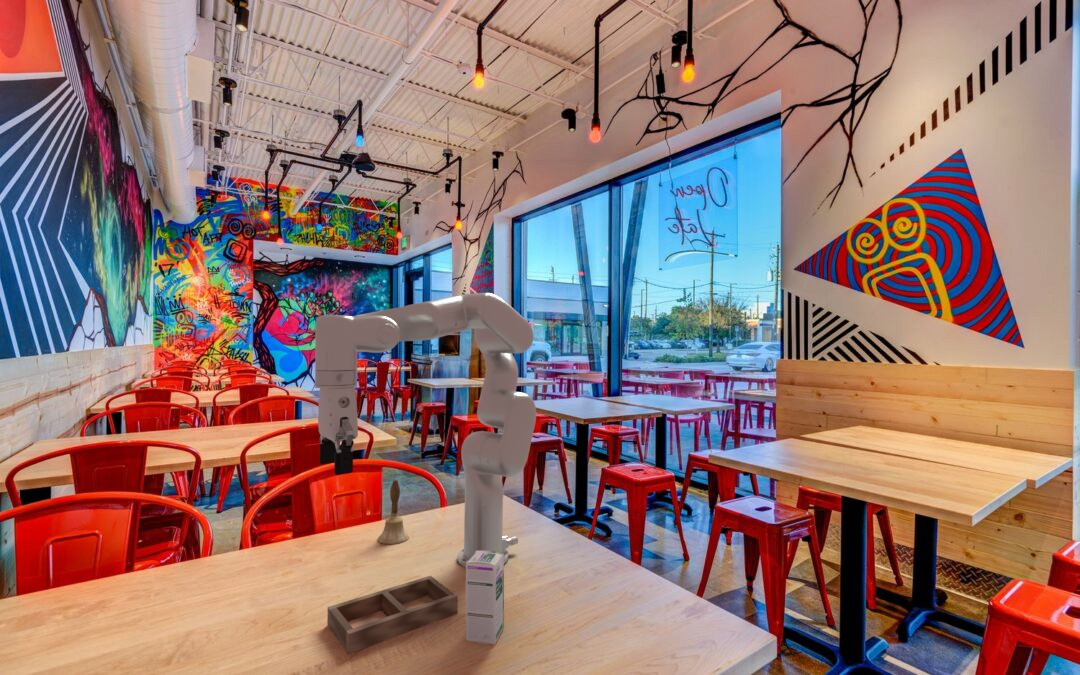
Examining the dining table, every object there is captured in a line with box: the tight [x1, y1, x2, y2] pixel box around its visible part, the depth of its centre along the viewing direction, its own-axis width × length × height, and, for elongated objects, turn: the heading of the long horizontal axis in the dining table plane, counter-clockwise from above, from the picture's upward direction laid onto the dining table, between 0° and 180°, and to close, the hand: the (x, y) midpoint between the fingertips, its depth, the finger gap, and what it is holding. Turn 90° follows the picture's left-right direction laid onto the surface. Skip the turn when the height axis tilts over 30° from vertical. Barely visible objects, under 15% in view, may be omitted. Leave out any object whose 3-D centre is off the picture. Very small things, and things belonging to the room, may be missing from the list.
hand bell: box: [377, 479, 410, 545], centre depth 142 cm, size 8×8×16 cm
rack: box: [326, 575, 459, 655], centre depth 101 cm, size 22×11×4 cm, turn 130°
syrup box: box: [465, 550, 505, 645], centre depth 96 cm, size 6×6×14 cm
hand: (335, 468), depth 100 cm, fingers open, 9 cm apart
